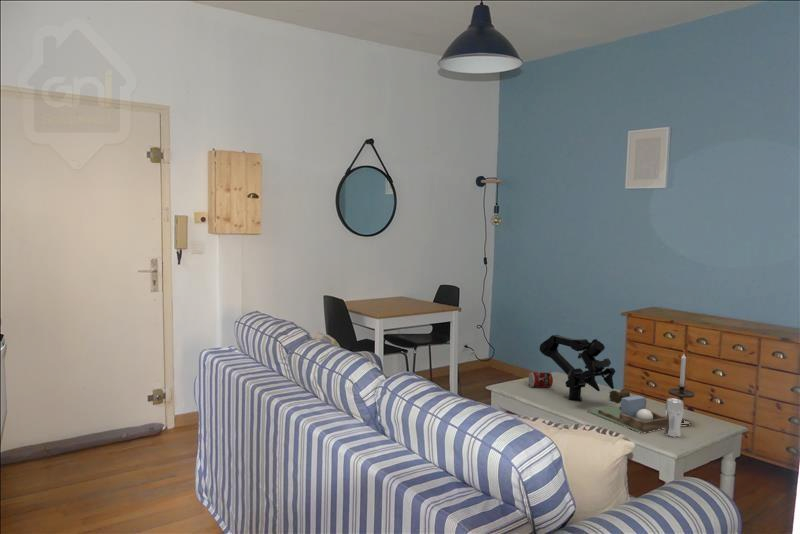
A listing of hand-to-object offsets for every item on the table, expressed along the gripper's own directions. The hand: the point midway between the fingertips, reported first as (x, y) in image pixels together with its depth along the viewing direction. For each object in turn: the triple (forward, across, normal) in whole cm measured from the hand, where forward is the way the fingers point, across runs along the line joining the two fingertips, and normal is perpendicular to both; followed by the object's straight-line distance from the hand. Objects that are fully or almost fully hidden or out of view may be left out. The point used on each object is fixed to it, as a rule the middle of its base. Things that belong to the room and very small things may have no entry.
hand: (606, 389), depth 282 cm
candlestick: (+26, +18, -12) cm, 34 cm away
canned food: (-25, +4, +35) cm, 43 cm away
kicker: (+19, 0, -4) cm, 19 cm away
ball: (+20, 0, -12) cm, 23 cm away
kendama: (+4, +20, +11) cm, 23 cm away
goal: (+17, 0, -3) cm, 17 cm away
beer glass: (+32, +2, -18) cm, 37 cm away
